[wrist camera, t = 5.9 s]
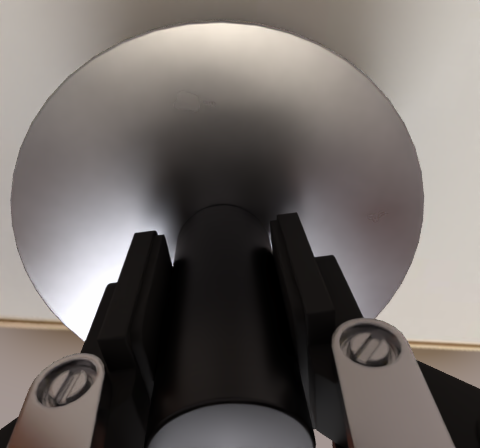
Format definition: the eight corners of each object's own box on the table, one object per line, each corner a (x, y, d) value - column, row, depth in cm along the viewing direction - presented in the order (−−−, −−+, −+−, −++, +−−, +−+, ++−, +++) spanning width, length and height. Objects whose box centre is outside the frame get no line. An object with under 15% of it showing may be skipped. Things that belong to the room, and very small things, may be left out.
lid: (43, 350, 15) (-89, 618, 9) (0, -20, 10) (-493, -75, 3) (350, 369, 17) (439, 612, 10) (472, 57, 11) (868, 139, 4)
